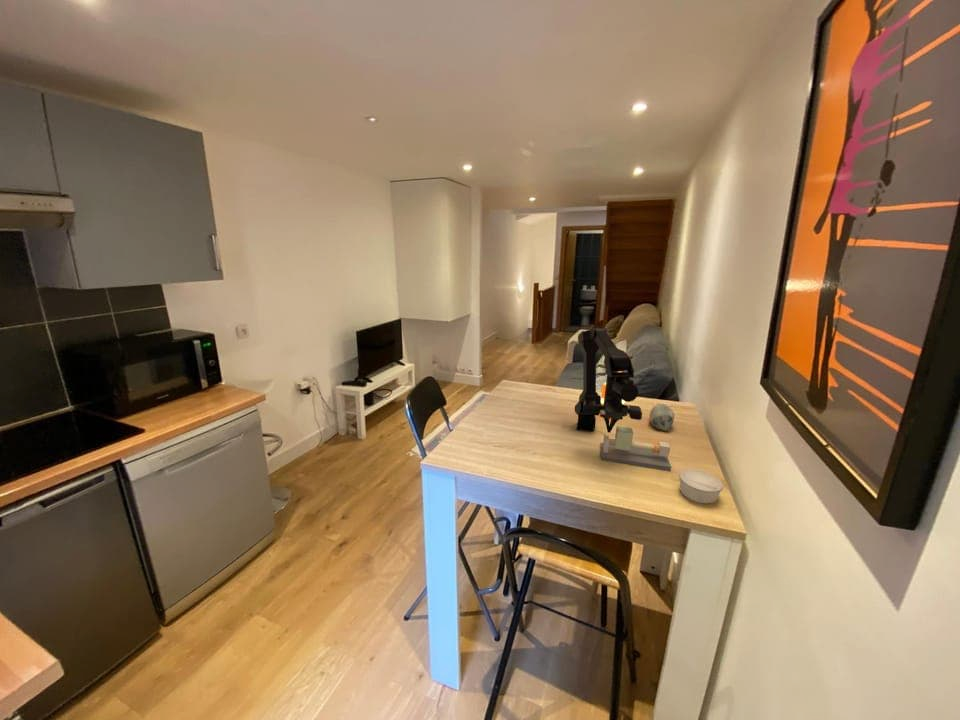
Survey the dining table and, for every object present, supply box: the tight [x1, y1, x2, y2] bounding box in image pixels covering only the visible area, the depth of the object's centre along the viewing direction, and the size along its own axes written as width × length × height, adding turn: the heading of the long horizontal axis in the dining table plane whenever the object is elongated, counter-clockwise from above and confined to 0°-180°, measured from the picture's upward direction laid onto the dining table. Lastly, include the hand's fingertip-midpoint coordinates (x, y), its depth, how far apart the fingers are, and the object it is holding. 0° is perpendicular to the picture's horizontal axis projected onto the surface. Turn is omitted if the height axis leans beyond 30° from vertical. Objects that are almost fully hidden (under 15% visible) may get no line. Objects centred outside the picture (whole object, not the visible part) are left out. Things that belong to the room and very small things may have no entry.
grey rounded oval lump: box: [648, 403, 675, 432], centre depth 155 cm, size 14×10×10 cm
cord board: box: [599, 433, 672, 472], centre depth 130 cm, size 22×10×7 cm, turn 74°
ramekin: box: [679, 468, 724, 504], centre depth 112 cm, size 11×11×5 cm
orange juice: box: [598, 371, 627, 420], centre depth 162 cm, size 8×9×20 cm
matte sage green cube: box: [614, 425, 634, 451], centre depth 130 cm, size 5×5×6 cm
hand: (608, 432), depth 131 cm, fingers closed
